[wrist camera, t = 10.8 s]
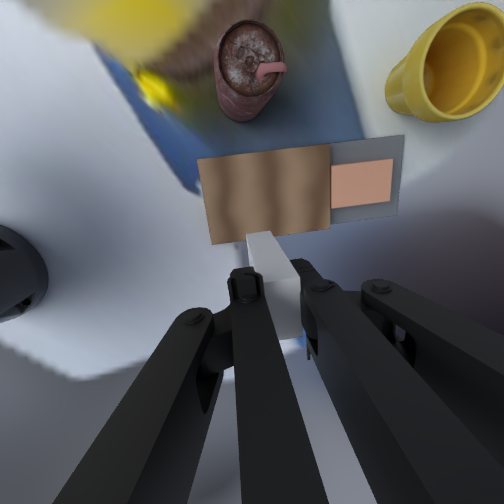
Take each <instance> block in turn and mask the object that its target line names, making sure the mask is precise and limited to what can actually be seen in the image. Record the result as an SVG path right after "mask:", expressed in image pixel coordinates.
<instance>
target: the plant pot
mask: <svg viewBox="0 0 504 504" xmlns="http://www.w3.org/2000/svg"><path fill="white" fill-rule="evenodd" d="M503 86H504V13H503V12H502V11H501V10H500V9H499V8H498V7H496V6H494V5H492V4H489V3H484V2H475V3H470V4H466V5H463V6H461V7H459V8H457V9H455V10H453V11H452V12H450V13H449V14H447V15H446V16H444V17H443V18H441V19H440V20H438V21H437V22H435V23H434V24H433V25H431V26H430V27H429V28H428V29H427V30H426V31H424V32H423V33H422V34H421V36H420V37H419V38H418V39H417V40H416V42H415V43H414V45H413V47H412V48H411V50H410V52H409V54H408V55H407V56H406V57H405V58H404V59H403V60H402V61H401V62H400V63H398V64H397V65H396V66H395V68H394V69H393V70H392V71H391V73H390V75H389V77H388V79H387V82H386V86H385V97H386V101H387V103H388V105H389V106H390V108H391V109H392V110H394V111H395V112H397V113H400V114H407V115H414V116H416V117H418V118H419V119H421V120H423V121H426V122H432V123H439V122H448V121H455V120H461V119H465V118H468V117H470V116H472V115H475V114H476V113H478V112H480V111H481V110H482V109H484V108H485V107H486V106H487V105H488V104H490V103H491V102H492V100H493V99H494V98H495V97H496V96H497V95H498V93H499V92H500V90H501V89H502V87H503Z"/></svg>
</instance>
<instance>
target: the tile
mask: <svg viewBox="0 0 504 504" xmlns="http://www.w3.org/2000/svg"><path fill="white" fill-rule="evenodd" d="M392 168H393V159H378V160H370V161H362V162H353V163H345V164H337V165H330V208H340V207H347V206H355V205H363V204H370V203H378V202H386V201H390V193H391V180H392Z"/></svg>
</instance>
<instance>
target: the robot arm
mask: <svg viewBox="0 0 504 504" xmlns="http://www.w3.org/2000/svg"><path fill="white" fill-rule="evenodd" d="M246 239H247V247H248V254H249V263H250V267H244V268H238V269H234V270H233V271H232V272H231V273H230V278H228V281H227V284H228V290H229V296H230V305H229V306H228V307H227V308H225V309H224V310H222V311H220V312H218V313H215V314H212V312H211V310H209V309H207V308H201V307H198V308H191V309H188V310H186V311H184V312H183V313H181V314H180V315H179V316H178V317H177V318H176V319H175V320H174V322H173V323H172V325H171V326H170V328H169V329H168V331H167V332H166V334H165V335H164V337H163V338H162V340H161V341H160V343H159V344H158V346H157V347H156V349H155V350H154V352H153V353H152V355H151V356H150V358H149V359H148V361H147V362H146V364H145V365H144V367H143V368H142V370H141V371H140V373H139V374H138V376H137V377H136V379H135V380H134V382H133V383H132V385H131V386H130V388H129V389H128V391H127V393H126V394H125V395H124V397H123V398H122V400H121V401H120V403H119V405H118V406H117V407H116V409H115V411H114V412H113V413H112V415H111V416H110V418H109V419H108V421H107V422H106V424H105V425H104V427H103V428H102V430H101V431H100V433H99V434H98V436H97V437H96V439H95V440H94V442H93V443H92V445H91V447H90V448H89V449H88V451H87V452H86V454H85V455H84V457H83V458H82V460H81V461H80V463H79V464H78V466H77V467H76V469H75V471H74V472H73V473H72V475H71V476H70V478H69V479H68V481H67V483H66V484H65V485H64V487H63V488H62V490H61V491H60V493H59V494H58V496H57V497H56V499H55V500H54V502H53V503H52V504H187V501H188V498H189V494H190V491H191V487H192V484H193V481H194V477H195V474H196V469H197V467H198V463H199V459H200V456H201V453H202V449H203V445H204V442H205V439H206V435H207V431H208V428H209V424H210V421H211V418H212V414H213V411H214V407H215V404H216V400H217V397H218V393H219V390H220V386H221V383H222V379H223V375H224V370H225V369H227V368H230V367H232V366H234V374H235V391H236V409H237V425H238V426H237V427H238V445H239V462H240V480H241V497H242V504H329V502H328V499H327V496H326V492H325V489H324V486H323V483H322V479H321V476H320V473H319V469H318V466H317V463H316V460H315V457H314V454H313V450H312V447H311V444H310V441H309V437H308V434H307V431H306V428H305V424H304V421H303V418H302V414H301V411H300V408H299V405H298V402H297V398H296V395H295V392H294V388H293V385H292V382H291V379H290V376H289V372H288V369H287V366H286V363H285V359H284V356H283V353H282V350H281V346H280V343H279V340H284V339H290V338H296V337H302V336H303V328H304V330H305V332H306V345H307V359H308V360H310V354H311V355H312V357H313V360H314V362H315V364H316V366H317V369H318V371H319V373H320V375H321V378H322V380H323V382H324V384H325V387H326V389H327V391H328V393H329V395H330V398H331V400H332V402H333V405H334V407H335V409H336V411H337V414H338V416H339V418H340V420H341V423H342V425H343V427H344V429H345V432H346V434H347V436H348V438H349V441H350V443H351V445H352V447H353V450H354V452H355V454H356V456H357V458H358V461H359V463H360V465H361V468H362V470H363V472H364V474H365V477H366V479H367V481H368V484H369V486H370V488H371V490H372V493H373V495H374V497H375V499H376V501H377V504H504V336H502V335H500V334H498V333H496V332H494V331H492V330H490V329H488V328H486V327H484V326H482V325H480V324H478V323H476V322H473V321H471V320H469V319H467V318H465V317H463V316H461V315H459V314H457V313H455V312H453V311H451V310H449V309H447V308H445V307H443V306H441V305H439V304H437V303H435V302H433V301H431V300H429V299H427V298H425V297H423V296H420V295H418V294H416V293H414V292H412V291H410V290H408V289H406V288H404V287H402V286H400V285H398V284H396V283H394V282H391V281H387V280H383V279H373V280H367V281H365V282H364V283H363V284H362V285H361V291H343V290H342V289H341V288H340V287H339V285H338V284H336V283H335V282H334V281H330V280H326V279H323V278H322V277H321V276H320V274H319V273H318V272H317V271H316V270H315V268H314V267H313V266H312V265H311V263H310V262H309V261H307V260H304V259H302V258H301V259H294V260H289V259H288V258H287V256H286V255H285V253H284V252H283V250H282V248H281V247H280V245H279V244H278V242H277V241H276V239H275V238H274V236H273V234H272V233H271V231H264V232H257V233H250V234H246ZM47 286H48V273H47V269H46V266H45V263H44V261H43V259H42V258H41V256H40V254H39V253H38V252H37V250H36V249H35V248H34V247H33V246H32V245H31V244H30V243H29V242H28V241H27V240H26V239H24V238H23V237H22V236H20V235H19V234H17V233H16V232H14V231H12V230H10V229H8V228H6V227H3V226H0V323H2V322H5V321H8V320H11V319H14V318H16V317H18V316H20V315H22V314H24V313H26V312H27V311H28V310H30V309H31V308H32V307H33V306H35V305H36V304H37V303H38V302H39V301H40V300H41V299H42V298H43V296H44V294H45V292H46V290H47ZM302 325H303V326H302ZM398 326H399V327H401V328H402V329H404V330H405V331H406V334H405V339H402V338H400V337H399V336H397V329H398Z"/></svg>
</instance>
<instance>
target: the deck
mask: <svg viewBox="0 0 504 504" xmlns="http://www.w3.org/2000/svg"><path fill="white" fill-rule="evenodd" d="M197 163H198V169H199V174H200V180H201V186H202V191H203V197H204V203H205V208H206V214H207V220H208V225H209V231H210V237H211V242H212V245H215V244H223V243H230V242H237V241H244V240H247V239H246V234H250V233H257V232H264V231H271V233H272V234H273V236H280V235H288V234H294V233H302V232H309V231H317V230H324V229H330V144H322V145H313V146H305V147H297V148H288V149H280V150H271V151H263V152H255V153H246V154H238V155H230V156H221V157H213V158H204V159H197Z"/></svg>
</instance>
